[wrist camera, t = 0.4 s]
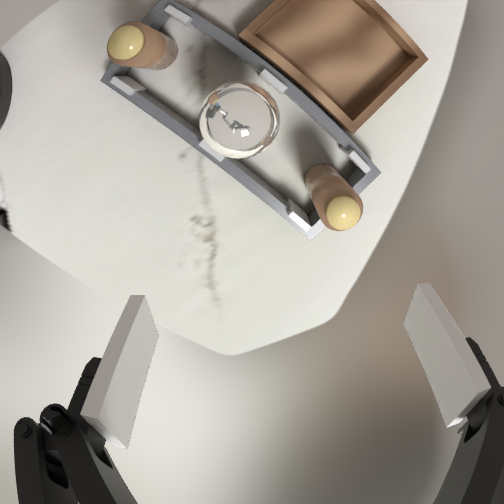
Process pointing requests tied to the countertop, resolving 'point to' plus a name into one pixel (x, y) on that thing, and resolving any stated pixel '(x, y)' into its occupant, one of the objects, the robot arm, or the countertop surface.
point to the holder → (233, 166)
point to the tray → (337, 53)
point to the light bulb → (239, 119)
